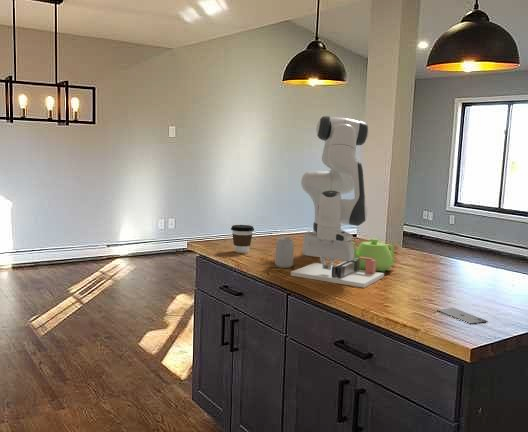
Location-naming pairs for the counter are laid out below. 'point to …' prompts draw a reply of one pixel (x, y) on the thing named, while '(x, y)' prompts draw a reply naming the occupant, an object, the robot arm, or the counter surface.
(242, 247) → the coffee cup
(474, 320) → the smartphone
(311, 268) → the board
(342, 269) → the tongs fixed
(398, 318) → the counter surface
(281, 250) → the can
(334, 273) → the tongs arm
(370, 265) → the lock tab
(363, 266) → the teapot
